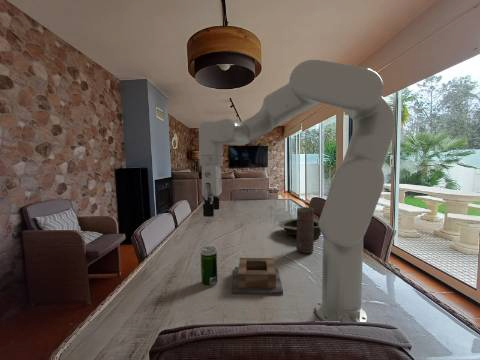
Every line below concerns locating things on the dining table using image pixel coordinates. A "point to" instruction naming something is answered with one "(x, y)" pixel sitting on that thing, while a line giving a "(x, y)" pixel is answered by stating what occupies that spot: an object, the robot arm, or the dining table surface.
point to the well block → (256, 277)
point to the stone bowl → (291, 227)
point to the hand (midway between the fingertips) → (211, 212)
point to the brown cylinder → (305, 229)
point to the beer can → (209, 266)
